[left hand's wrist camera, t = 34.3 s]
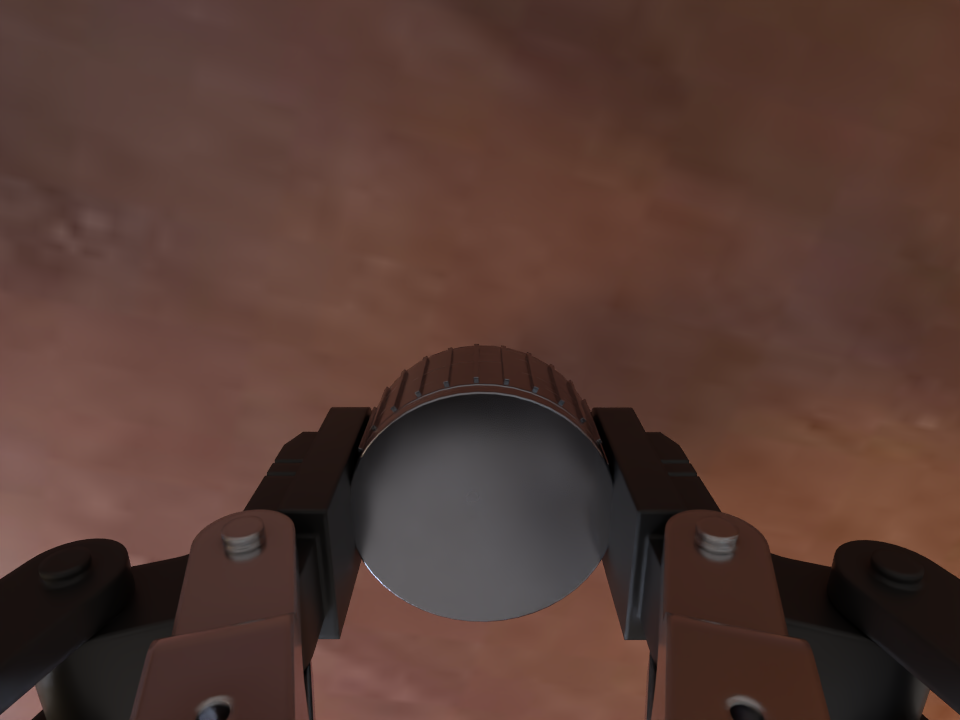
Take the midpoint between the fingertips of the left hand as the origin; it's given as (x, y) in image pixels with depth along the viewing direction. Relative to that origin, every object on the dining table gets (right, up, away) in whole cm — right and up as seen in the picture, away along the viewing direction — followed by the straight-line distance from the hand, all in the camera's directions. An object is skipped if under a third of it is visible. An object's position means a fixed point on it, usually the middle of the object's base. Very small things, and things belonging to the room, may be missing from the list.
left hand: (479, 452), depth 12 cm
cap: (0, -1, -2) cm, 2 cm away
